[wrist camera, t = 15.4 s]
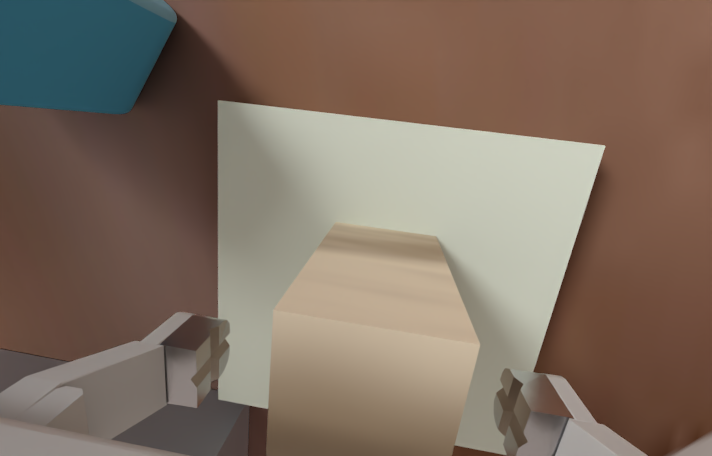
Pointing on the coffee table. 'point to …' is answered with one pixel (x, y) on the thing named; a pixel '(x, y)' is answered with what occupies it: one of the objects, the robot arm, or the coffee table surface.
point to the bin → (161, 416)
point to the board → (396, 228)
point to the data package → (80, 52)
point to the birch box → (370, 350)
